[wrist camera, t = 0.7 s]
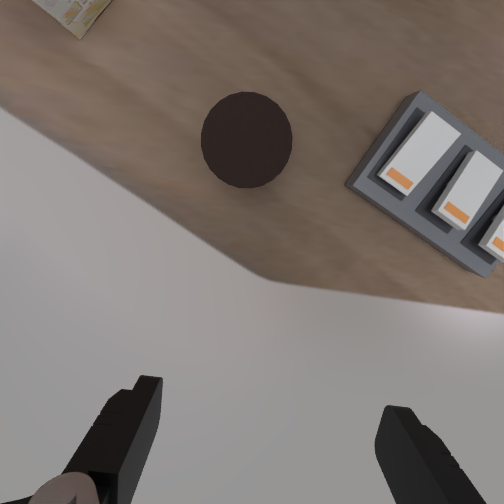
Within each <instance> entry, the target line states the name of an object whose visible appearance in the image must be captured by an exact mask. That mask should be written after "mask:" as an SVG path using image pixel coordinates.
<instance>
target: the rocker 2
mask: <svg viewBox="0 0 504 504" xmlns="http://www.w3.org/2000/svg"><path fill="white" fill-rule="evenodd" d="M502 172H503V170H502V169H500V168H499V167H498V166H496V165H495V164H494V163H493V162H491V161H490V160H489V159H487V158H486V157H485V156H484V155H482V154H481V153H480V152H478V151H477V150H476V151H472V152H469V153H468V154H467V156H466V157H465V159H464V160H463V162H462V163H461V165H460V167H459V168H458V170H457V171H456V173H455V174H454V176H453V177H452V179H451V180H450V181H449V182H448V183H447V184H446V186H447V187H446V188H445V190H444V191H443V193H442V195H441V196H440V198H439V199H438V201H437V202H436V204H435V205H434V207H433V209H432V210H431V211H432V212H433V213H434V214H436V215H437V216H439V217H440V218H441V219H443V220H444V221H445V222H447V223H448V224H450V225H451V226H452V227H454V228H455V229H457V230H465V229H466V228H467V226H468V225H469V223H470V222H471V220H472V219H473V217H474V215H475V214H476V212H477V211H478V209H479V208H480V206H481V205H482V203H483V202H484V200H485V198H486V197H487V195H488V194H489V192H490V191H491V189H492V188H493V186H494V185H495V183H496V181H497V180H498V178H499V177H500V175H501V174H502Z"/></svg>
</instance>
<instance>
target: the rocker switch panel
mask: <svg viewBox="0 0 504 504" xmlns="http://www.w3.org/2000/svg"><path fill="white" fill-rule="evenodd" d="M428 111H432V112H434V113H435V114H436V115H438V116H439V117H440V118H441V119H443V120H444V121H445V122H447V123H448V124H449V125H450V126H452V127H453V128H454V129H456V130H457V131H458V132H459V133H461V135H460V136H459V137H458V138H457V139H456V140H455V141H454V143H453V144H452V145H451V146H450V147H449V148H448V150H447V151H446V152H445V153H444V154H443V155H442V156H441V158H440V159H439V160H438V161H437V162H436V163H435V165H434V166H433V167H432V168H431V169H430V170H429V171H428V173H427V174H426V175H425V176H424V177H423V178H422V180H421V181H420V182H419V183H418V184H417V185H416V186H415V188H414V189H413V190H412V191H411V192H410V193H409V195H408V196H406V195H404V194H403V193H401V192H400V191H399V190H397V189H396V188H394V187H393V186H392V185H390V184H389V183H387V182H386V181H385V180H383V179H382V178H380V177H379V176H378V175H377V173H378V172H379V171H380V170H381V168H382V167H383V166H384V165H385V163H386V162H387V161H388V160H389V158H390V157H391V156H392V155H393V153H394V152H395V151H396V150H397V148H398V147H399V146H400V145H401V143H402V142H403V141H404V140H405V138H406V137H407V136H408V135H409V133H410V132H411V131H412V130H413V128H414V127H415V126H416V125H417V123H418V122H419V121H420V120H421V118H422V117H423V116H424V115H425V113H426V112H428ZM476 150H477V151H478V152H480V153H481V154H482V155H484V156H485V157H486V158H487V159H489V160H490V161H491V162H493V163H494V164H495V165H496V166H498V167H499V168H500V169H502V170H503V172H502V174H501V175H500V177H499V178H498V180H497V181H496V183H495V185H494V186H493V188H492V189H491V191H490V192H489V194H488V195H487V197H486V198H485V200H484V202H483V203H482V205H481V206H480V208H479V209H478V211H477V212H476V214H475V215H474V217H473V219H472V220H471V222H470V223H469V225H468V226H467V228H466V229H465V230H457V229H455V228H454V227H452V226H451V225H450V224H448V223H447V222H445V221H444V220H443V219H441V218H440V217H439V216H437V215H436V214H434V213H433V212H432V211H431V210H432V209H433V207H434V205H435V204H436V202H437V201H438V199H439V198H440V196H441V195H442V193H443V191H444V190H445V188H446V187H447V186H446V184H447V183H448V182H449V181H450V180H451V179H452V177H453V176H454V174H455V173H456V171H457V170H458V168H459V167H460V165H461V163H462V162H463V160H464V159H465V157H466V156H467V154H468V153H469V152H472V151H476ZM345 186H347V187H348V188H350V189H351V190H352V191H354V192H355V193H357V194H358V195H360V196H361V197H362V198H364V199H365V200H367V201H368V202H370V203H371V204H372V205H374V206H375V207H377V208H378V209H380V210H381V211H382V212H384V213H385V214H387V215H388V216H390V217H391V218H393V219H394V220H395V221H397V222H398V223H400V224H401V225H403V226H404V227H405V228H407V229H408V230H410V231H411V232H413V233H414V234H415V235H417V236H418V237H420V238H421V239H423V240H424V241H425V242H427V243H428V244H430V245H431V246H433V247H434V248H435V249H437V250H438V251H440V252H441V253H443V254H444V255H445V256H447V257H448V258H450V259H451V260H453V261H454V262H455V263H457V264H458V265H460V266H461V267H463V268H464V269H465V270H467V271H469V272H471V273H474V274H476V275H478V276H481V277H483V278H486V277H487V276H488V275H489V274H490V273H491V271H492V270H493V269H494V268H495V267H496V266H497V264H498V263H499V262H500V260H498V259H497V258H496V257H494V256H493V255H491V254H490V253H489V252H487V251H486V250H484V249H483V248H482V247H480V246H479V245H478V244H479V243H480V241H481V239H482V238H483V236H484V235H485V233H486V232H487V230H488V229H489V227H490V226H491V224H492V223H493V220H492V218H493V217H494V216H495V215H498V213H499V212H500V210H501V209H502V207H503V206H504V155H503V154H502V153H501V152H499V151H498V150H497V149H496V148H494V147H493V146H492V145H490V144H489V143H488V142H487V141H485V140H484V139H483V138H482V137H480V136H479V135H478V134H476V133H475V132H474V131H473V130H471V129H470V128H469V127H468V126H466V125H465V124H464V123H462V122H461V121H460V120H459V119H457V118H456V117H455V116H454V115H452V114H451V113H450V112H448V111H447V110H446V109H445V108H443V107H442V106H441V105H440V104H438V103H437V102H436V101H434V100H433V99H432V98H431V97H429V96H428V95H427V94H426V93H424V92H423V91H422V90H419V91H417V92H415V93H413V94H411V95H409V96H407V97H406V98H405V99H404V100H403V102H402V103H401V105H400V106H399V108H398V109H397V110H396V112H395V113H394V115H393V116H392V118H391V119H390V120H389V122H388V123H387V125H386V126H385V128H384V129H383V130H382V132H381V133H380V135H379V136H378V138H377V139H376V140H375V142H374V143H373V145H372V146H371V148H370V149H369V150H368V152H367V153H366V155H365V156H364V158H363V159H362V160H361V162H360V163H359V165H358V166H357V167H356V169H355V170H354V172H353V173H352V175H351V176H350V177H349V179H348V180H347V182H346V183H345Z"/></svg>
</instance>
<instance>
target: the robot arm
mask: <svg viewBox="0 0 504 504" xmlns="http://www.w3.org/2000/svg"><path fill="white" fill-rule="evenodd" d="M162 387H163V378H161V377H153V376H144V375H141V376H140V377H139V379H138V381H137V382H136V384H135V386H134V388H133V390H126V389H121V390H120V391H119V392H117V393H116V394H115V395H113V396H112V397H111V398H110V399H108V401H107V403H106V404H105V406H104V407H103V409H102V410H101V413H100V415H98V417H97V419H96V420H95V422H94V423H93V426H91V428H90V430H89V431H88V433H87V434H86V436H85V438H84V439H83V441H82V442H81V444H80V446H79V447H78V449H77V450H76V452H75V453H74V455H73V457H72V458H71V460H70V462H69V463H68V465H67V466H66V468H65V469H64V471H63V472H62V474H61V475H59V476H57V477H55V478H53V479H51V480H49V481H48V482H46V483H45V484H44V485H42V486H41V487H40V488H39V489H38V490H37V492H36V493H35V494H34V495H32V496H30V497H27V498H23V499H20V500H15V501H11V502H6V503H1V504H131V501H132V498H133V495H134V493H135V490H136V487H137V484H138V481H139V479H140V476H141V473H142V470H143V468H144V465H145V462H146V460H147V457H148V454H149V452H150V449H151V446H152V443H153V441H154V438H155V435H156V432H157V429H158V425H159V420H160V412H161V399H162ZM375 454H376V458H377V460H378V463H379V465H380V467H381V470H382V472H383V474H384V477H385V479H386V481H387V484H388V486H389V488H390V490H391V493H392V495H393V497H394V499H395V502H396V504H486V502H485V501H484V500H483V498H482V497H481V495H480V494H479V493H478V491H477V490H476V488H475V487H474V485H473V484H472V483H471V481H470V480H469V478H468V477H467V476H466V474H465V473H464V471H463V470H462V469H460V467H459V464H458V463H457V461H456V460H455V459H454V457H453V456H451V453H450V451H449V450H448V449H447V447H446V446H445V444H444V443H443V441H442V440H441V439H440V438H439V437H438V436H437V435H436V434H435V433H434V432H433V431H431V430H430V429H429V428H428V427H427V426H426V425H422V424H421V423H420V421H419V420H418V418H417V417H416V415H415V414H414V412H413V411H412V410H411V409H410V408H408V407H400V406H391V405H387V406H386V407H385V408H384V411H383V414H382V418H381V422H380V425H379V428H378V431H377V435H376V438H375Z"/></svg>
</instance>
